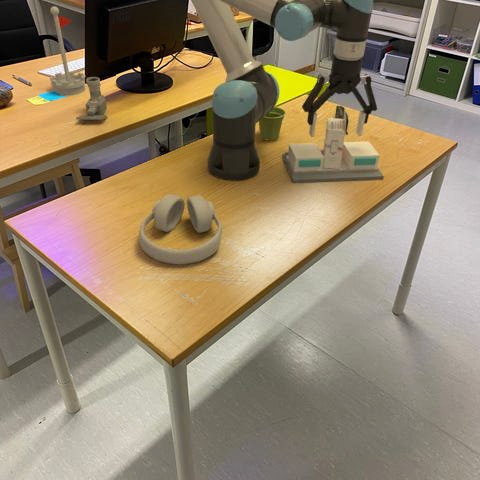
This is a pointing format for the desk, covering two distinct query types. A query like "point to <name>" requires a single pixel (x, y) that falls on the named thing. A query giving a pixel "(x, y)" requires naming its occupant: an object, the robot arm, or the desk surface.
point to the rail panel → (311, 168)
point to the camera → (94, 101)
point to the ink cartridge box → (334, 142)
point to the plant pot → (271, 124)
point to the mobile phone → (341, 115)
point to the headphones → (168, 218)
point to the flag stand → (65, 64)
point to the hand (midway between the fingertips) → (335, 134)
